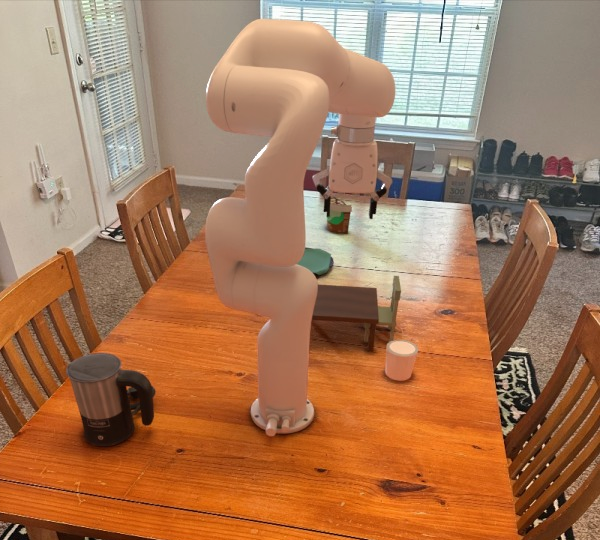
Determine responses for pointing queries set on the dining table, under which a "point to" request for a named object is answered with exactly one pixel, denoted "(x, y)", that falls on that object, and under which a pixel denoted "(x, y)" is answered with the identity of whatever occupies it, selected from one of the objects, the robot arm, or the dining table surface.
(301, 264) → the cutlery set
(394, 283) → the chair
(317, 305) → the model table
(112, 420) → the milk frother
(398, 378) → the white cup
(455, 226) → the dining table surface
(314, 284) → the robot arm
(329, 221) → the food container
